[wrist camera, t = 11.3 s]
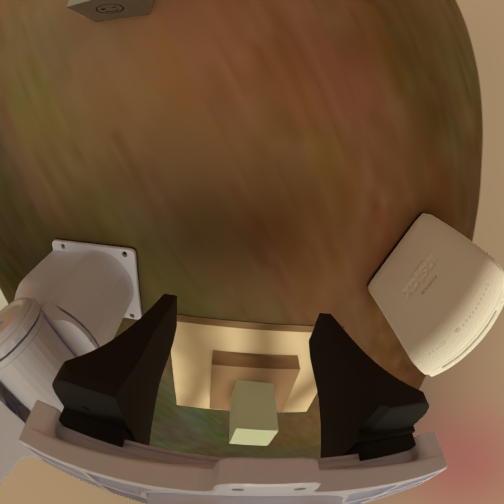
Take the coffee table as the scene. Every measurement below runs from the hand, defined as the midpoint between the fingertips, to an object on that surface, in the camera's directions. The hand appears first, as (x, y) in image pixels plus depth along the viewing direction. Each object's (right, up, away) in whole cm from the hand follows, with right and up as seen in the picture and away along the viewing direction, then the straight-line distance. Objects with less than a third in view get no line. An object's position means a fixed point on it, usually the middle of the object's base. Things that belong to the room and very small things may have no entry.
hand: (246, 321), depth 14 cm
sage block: (0, -12, +14) cm, 19 cm away
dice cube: (-10, +24, -1) cm, 26 cm away
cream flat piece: (0, -11, +17) cm, 20 cm away
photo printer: (+15, +3, +11) cm, 19 cm away
